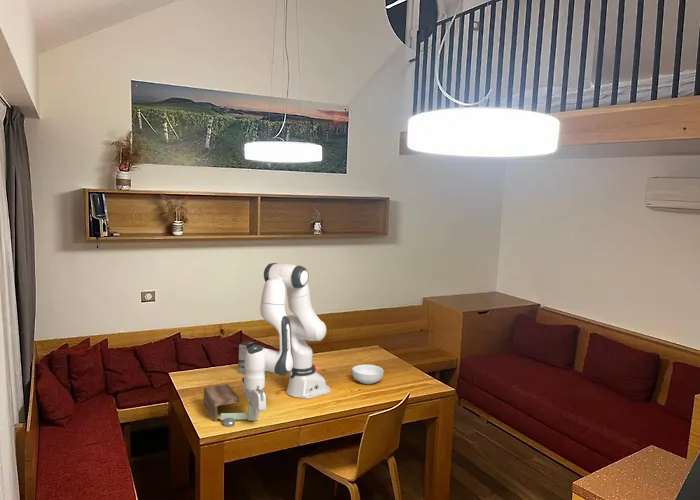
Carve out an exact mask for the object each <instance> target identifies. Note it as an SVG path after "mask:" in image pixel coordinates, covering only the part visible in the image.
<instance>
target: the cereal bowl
mask: <svg viewBox="0 0 700 500" xmlns="http://www.w3.org/2000/svg"><path fill="white" fill-rule="evenodd" d="M351 373H352V378H353V379H355V380H356V381H357V382H359V383H361V384H363V385H372V384H374V383H378V382H380V381H381V380H382V378H383V377H384V369H383V368H382V367H381V366H379V365H374V364H358V365H355V366H353V367H352V368H351Z"/></svg>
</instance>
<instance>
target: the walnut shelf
mask: <svg viewBox="0 0 700 500" xmlns="http://www.w3.org/2000/svg"><path fill="white" fill-rule="evenodd" d="M240 400H241V399H240V397H239V396H238V394H237V393H236V392H235V391H234V390H233V388H232V387H231V386H229V384H227V383H225V384H220V385H211V386H206V387H203V407H204V409H205V410H206V411H207V413H208V415H210V417H211V418H212V421H214V422H218V407H219V406H225V405H231V404H236V403H240Z"/></svg>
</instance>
